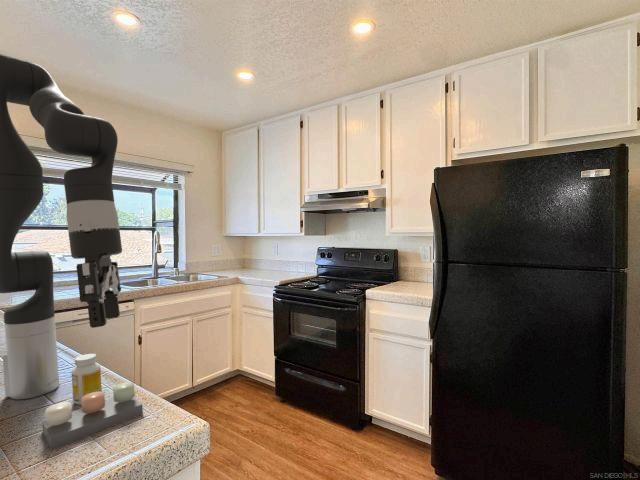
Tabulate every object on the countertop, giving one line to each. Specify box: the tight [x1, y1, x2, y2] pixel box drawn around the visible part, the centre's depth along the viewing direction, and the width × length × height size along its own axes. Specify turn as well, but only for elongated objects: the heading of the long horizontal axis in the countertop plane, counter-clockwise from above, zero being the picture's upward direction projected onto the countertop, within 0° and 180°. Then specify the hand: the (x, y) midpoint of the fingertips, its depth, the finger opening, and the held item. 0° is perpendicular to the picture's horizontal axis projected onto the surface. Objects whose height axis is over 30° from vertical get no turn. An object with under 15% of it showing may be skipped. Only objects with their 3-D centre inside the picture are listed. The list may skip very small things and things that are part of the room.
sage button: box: [112, 381, 136, 402], centre depth 73 cm, size 4×4×2 cm
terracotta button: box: [81, 391, 106, 413], centre depth 69 cm, size 4×4×2 cm
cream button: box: [45, 401, 73, 426], centre depth 65 cm, size 4×4×2 cm
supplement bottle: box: [71, 353, 103, 405], centre depth 79 cm, size 5×5×10 cm
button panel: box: [41, 396, 144, 450], centre depth 69 cm, size 15×8×2 cm, turn 136°
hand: (106, 321), depth 61 cm, fingers open, 8 cm apart
